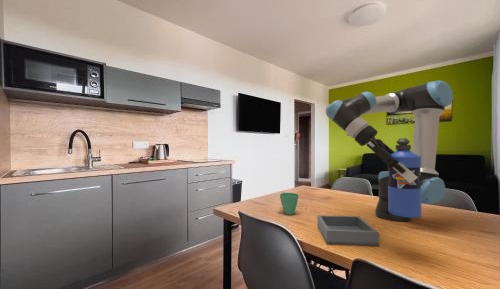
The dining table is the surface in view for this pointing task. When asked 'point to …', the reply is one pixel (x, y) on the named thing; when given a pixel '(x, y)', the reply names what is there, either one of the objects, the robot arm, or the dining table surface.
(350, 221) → the tray
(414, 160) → the blue plastic bottle
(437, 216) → the dining table surface
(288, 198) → the mug
